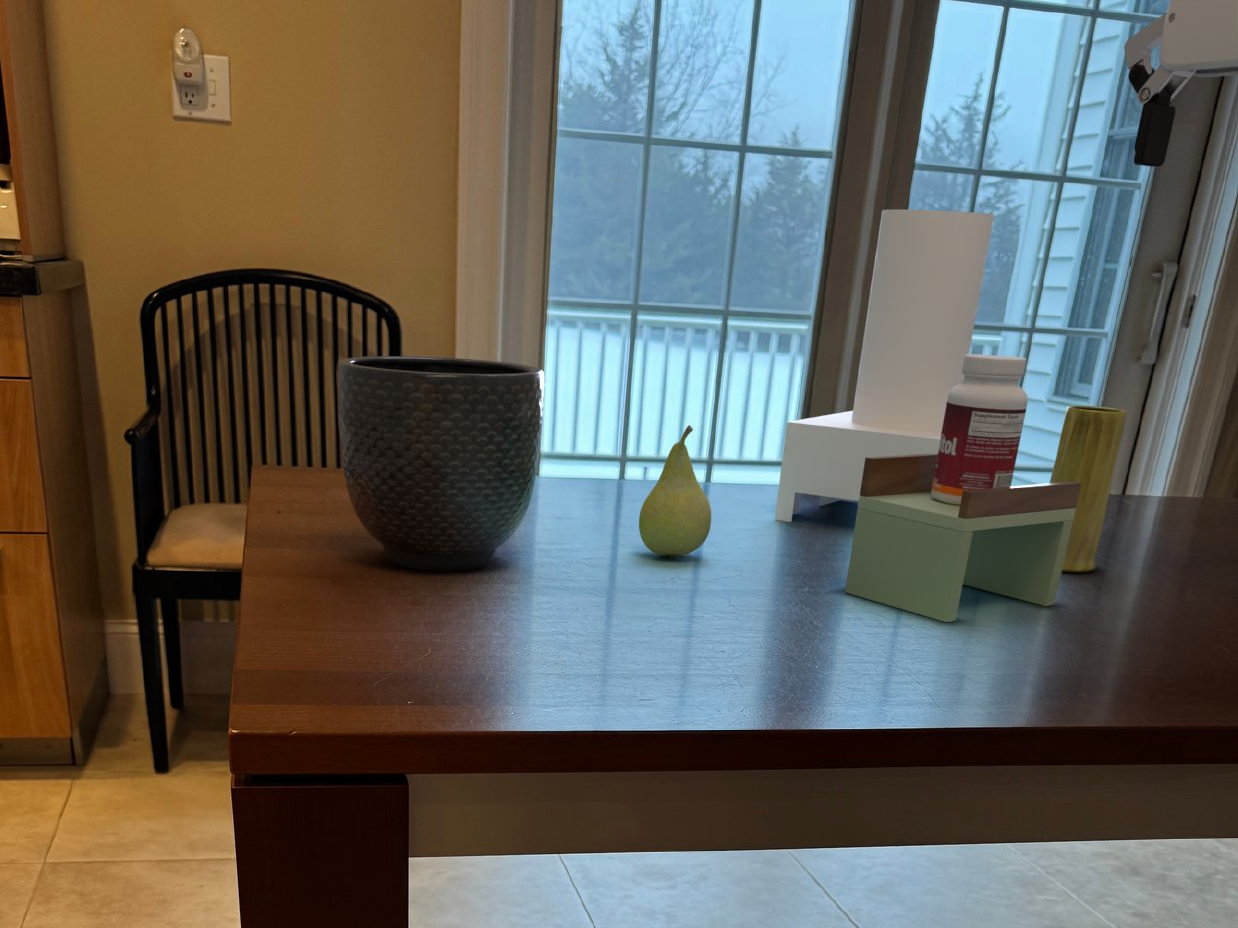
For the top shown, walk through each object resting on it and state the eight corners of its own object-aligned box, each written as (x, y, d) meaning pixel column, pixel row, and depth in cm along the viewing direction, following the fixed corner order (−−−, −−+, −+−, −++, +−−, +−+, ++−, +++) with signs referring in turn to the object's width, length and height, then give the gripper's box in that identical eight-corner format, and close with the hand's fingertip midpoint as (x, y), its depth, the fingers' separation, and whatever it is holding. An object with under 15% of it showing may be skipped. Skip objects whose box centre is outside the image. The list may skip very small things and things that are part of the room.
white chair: (774, 519, 141) (813, 205, 127) (839, 499, 155) (881, 214, 141) (943, 545, 132) (1005, 210, 118) (995, 521, 146) (1056, 220, 132)
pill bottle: (925, 493, 110) (950, 351, 104) (1000, 498, 109) (1029, 356, 104) (934, 505, 104) (960, 356, 99) (1012, 510, 103) (1043, 361, 98)
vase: (1025, 568, 123) (1060, 408, 117) (1030, 556, 128) (1063, 403, 122) (1093, 576, 121) (1132, 414, 115) (1095, 564, 126) (1132, 408, 120)
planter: (328, 578, 106) (322, 367, 99) (353, 537, 121) (349, 352, 114) (537, 587, 107) (546, 378, 99) (535, 545, 122) (543, 362, 115)
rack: (1054, 605, 110) (1085, 469, 105) (946, 622, 103) (973, 478, 98) (951, 577, 118) (975, 450, 113) (844, 592, 110) (865, 457, 105)
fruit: (700, 550, 124) (714, 416, 118) (715, 567, 117) (730, 427, 111) (631, 548, 123) (641, 413, 118) (642, 565, 116) (654, 423, 111)
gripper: (1432, -137, 85) (1349, 163, 93) (1186, -92, 97) (1131, 170, 105) (1378, -161, 81) (1296, 155, 89) (1129, -111, 93) (1076, 163, 101)
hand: (1207, 163), depth 97 cm, fingers open, 9 cm apart
